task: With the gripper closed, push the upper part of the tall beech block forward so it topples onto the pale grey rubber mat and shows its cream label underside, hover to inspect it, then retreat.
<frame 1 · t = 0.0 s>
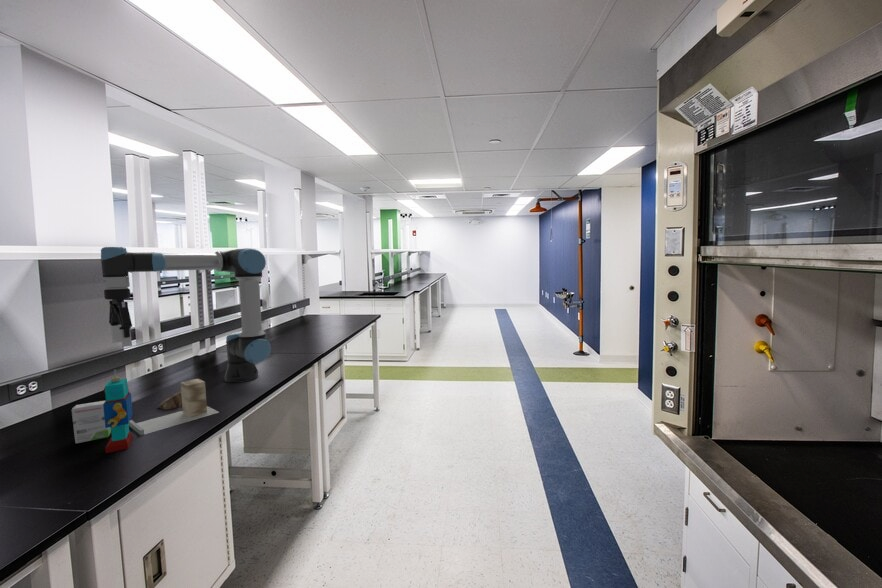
hand: (122, 344, 148), 28 cm above the lab bench, fingers open, 13 cm apart
block: (195, 413, 151), resting on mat
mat: (175, 419, 146), on the lab bench
ink box: (93, 438, 132), on the lab bench
toy robot: (120, 446, 126), on the lab bench
rock: (176, 404, 164), on the lab bench
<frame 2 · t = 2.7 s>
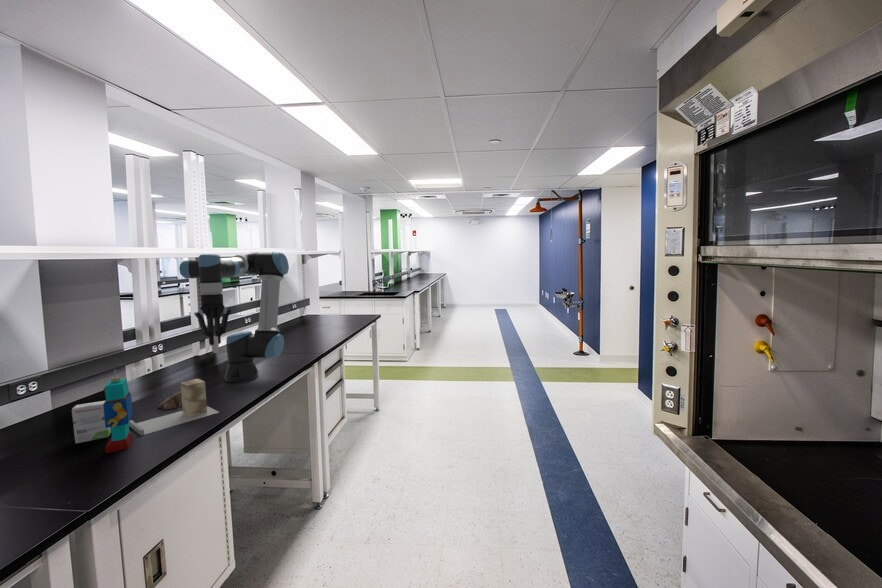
hand: (215, 352, 156), 22 cm above the lab bench, fingers closed
nothing on the lab bench moved.
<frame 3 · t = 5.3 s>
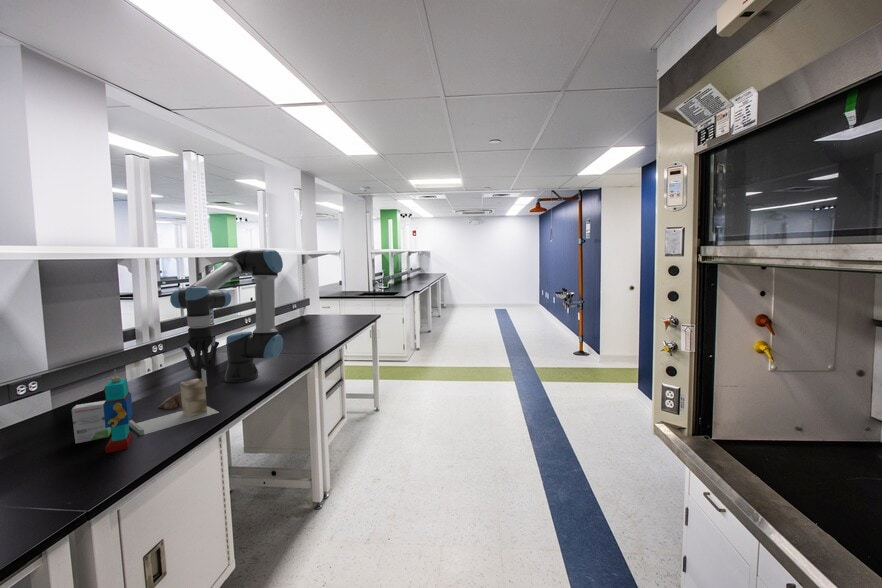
hand: (203, 386, 153), 10 cm above the lab bench, fingers closed
block: (195, 413, 151), resting on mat, touching gripper
everything else where it was.
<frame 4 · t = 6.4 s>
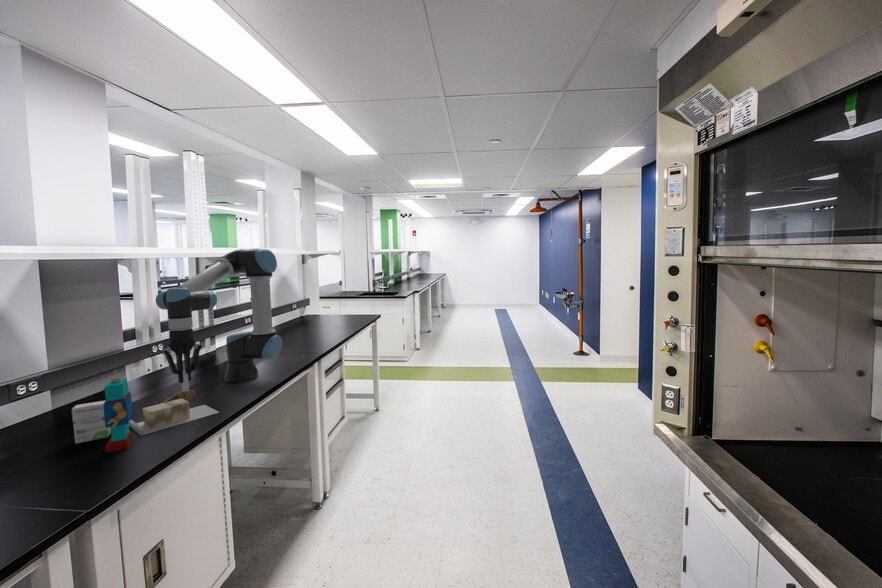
hand: (185, 390, 148), 10 cm above the lab bench, fingers closed
block: (185, 407, 149), point 3 cm above the lab bench, tilted 90°, touching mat
everything else where it was.
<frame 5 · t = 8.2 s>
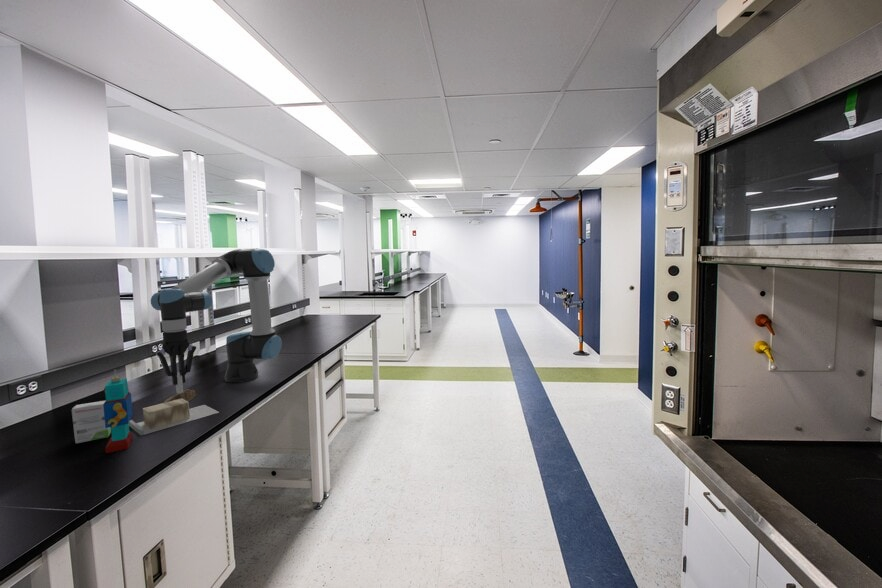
hand: (179, 392, 147), 10 cm above the lab bench, fingers closed
nothing on the lab bench moved.
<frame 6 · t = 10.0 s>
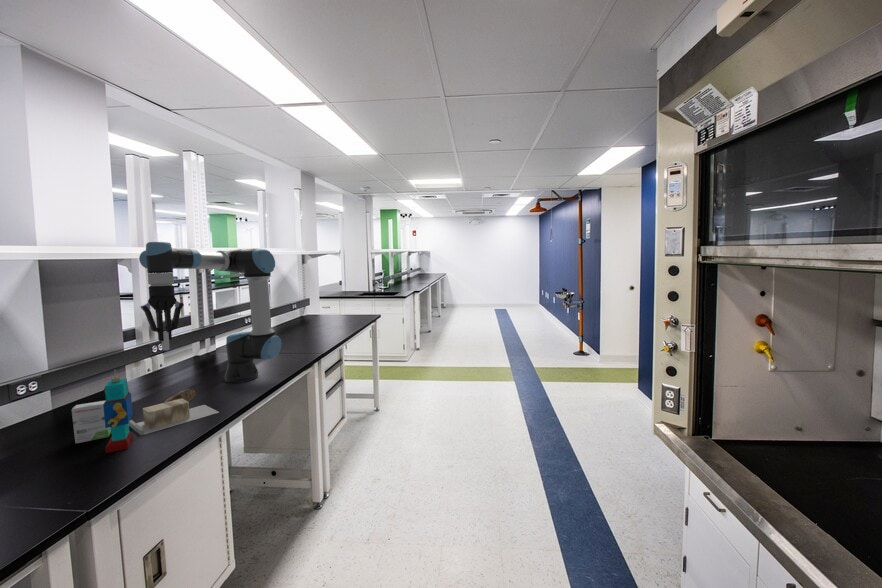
hand: (165, 349, 143), 27 cm above the lab bench, fingers closed
nothing on the lab bench moved.
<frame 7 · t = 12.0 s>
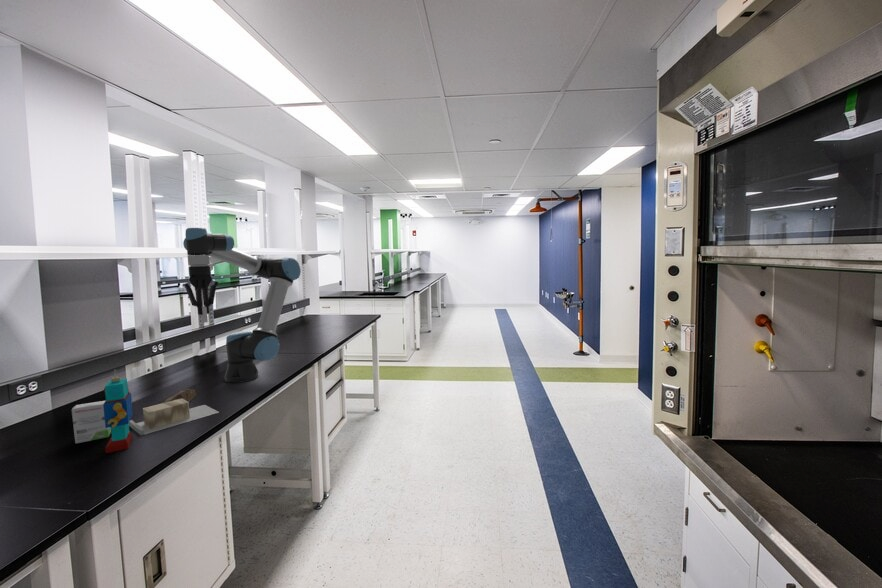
hand: (204, 322, 164), 34 cm above the lab bench, fingers closed
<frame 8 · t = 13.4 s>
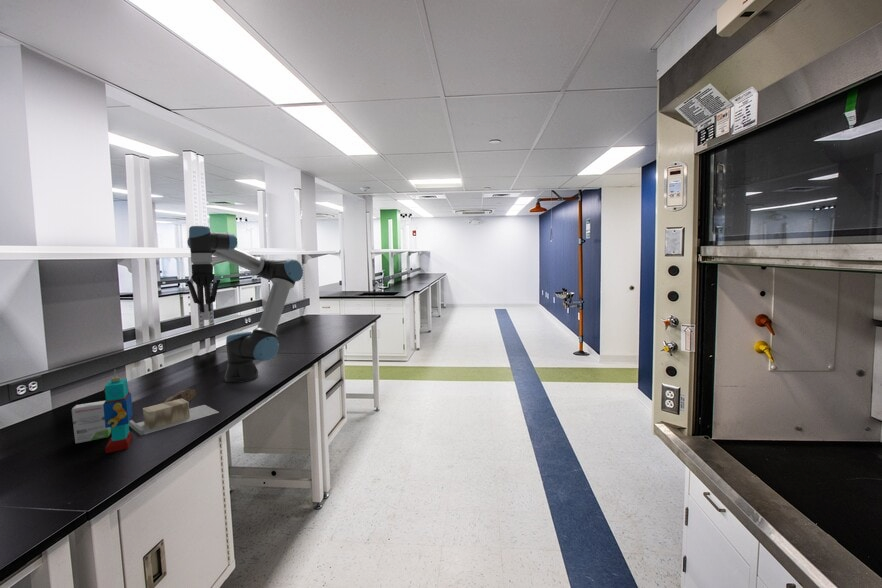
hand: (205, 319, 165), 34 cm above the lab bench, fingers closed
at the end: block tilted 90°; block inside the target area (6.0 cm from its centre), point 3.3 cm above the lab bench; the gripper is holding nothing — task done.
